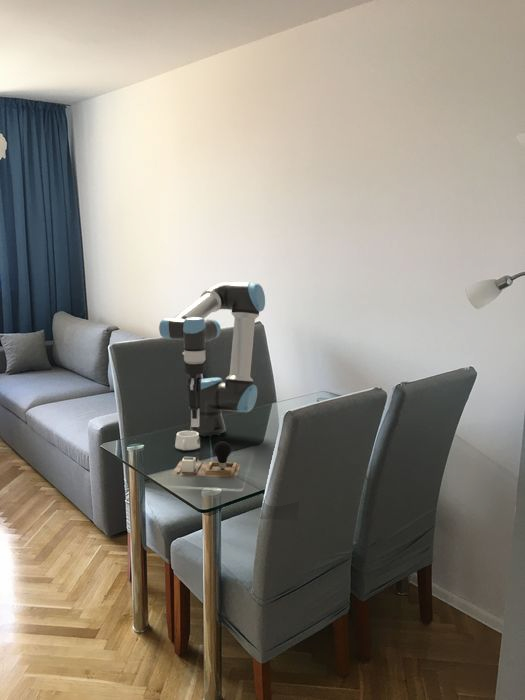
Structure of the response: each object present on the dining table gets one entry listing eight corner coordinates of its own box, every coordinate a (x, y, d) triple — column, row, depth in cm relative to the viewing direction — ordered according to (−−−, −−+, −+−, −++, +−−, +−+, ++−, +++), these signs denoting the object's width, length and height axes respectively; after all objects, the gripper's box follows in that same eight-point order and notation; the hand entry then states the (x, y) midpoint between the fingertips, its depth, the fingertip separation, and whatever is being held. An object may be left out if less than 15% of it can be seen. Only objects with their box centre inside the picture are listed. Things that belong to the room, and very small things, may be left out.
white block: (184, 467, 207) (184, 455, 206) (195, 468, 207) (195, 455, 206) (181, 471, 203) (181, 458, 202) (193, 472, 203) (193, 459, 202)
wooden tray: (180, 463, 215) (180, 457, 214) (240, 466, 213) (240, 460, 213) (171, 476, 201) (171, 471, 200) (236, 479, 199) (236, 474, 199)
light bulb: (211, 470, 205) (211, 442, 204) (218, 465, 210) (218, 438, 209) (226, 473, 203) (227, 444, 201) (233, 468, 208) (233, 440, 207)
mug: (179, 444, 238) (179, 429, 237) (202, 445, 237) (202, 430, 236) (170, 453, 226) (170, 437, 225) (195, 454, 225) (195, 439, 224)
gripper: (187, 358, 216) (188, 420, 220) (180, 365, 203) (181, 431, 207) (208, 358, 216) (208, 421, 220) (201, 365, 203) (202, 432, 207)
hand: (195, 426), depth 214 cm, fingers closed
